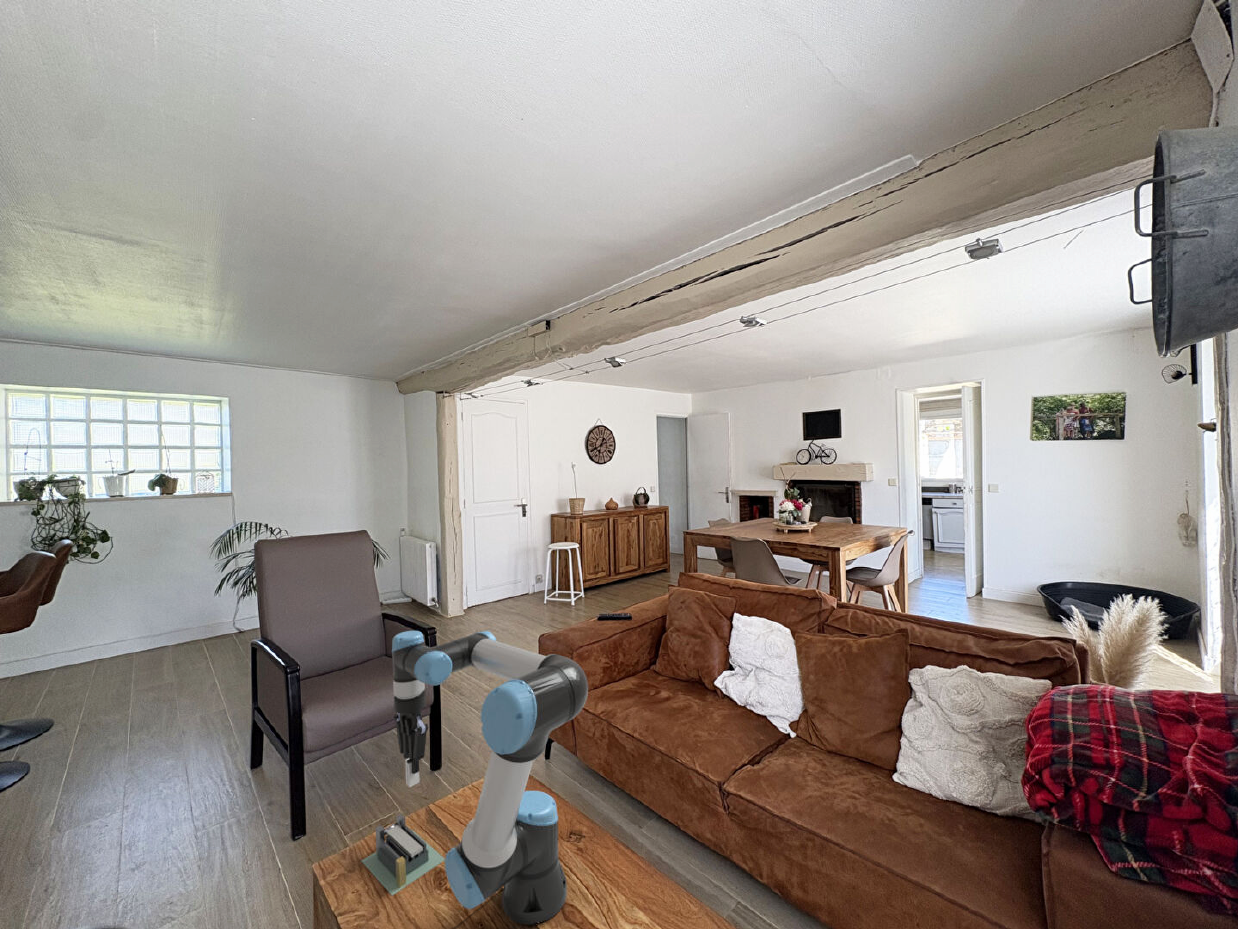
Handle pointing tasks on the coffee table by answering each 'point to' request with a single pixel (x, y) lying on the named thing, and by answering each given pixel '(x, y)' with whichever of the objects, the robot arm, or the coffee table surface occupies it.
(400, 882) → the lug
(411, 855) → the grey flat bar
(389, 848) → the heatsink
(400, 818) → the pivot bracket
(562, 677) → the robot arm
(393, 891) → the board
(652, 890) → the coffee table surface
